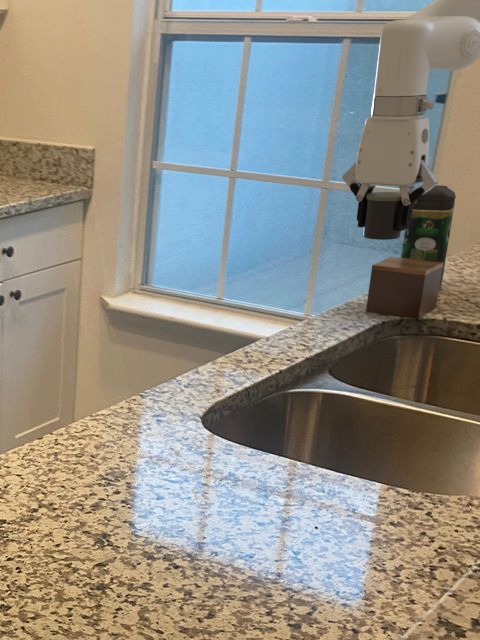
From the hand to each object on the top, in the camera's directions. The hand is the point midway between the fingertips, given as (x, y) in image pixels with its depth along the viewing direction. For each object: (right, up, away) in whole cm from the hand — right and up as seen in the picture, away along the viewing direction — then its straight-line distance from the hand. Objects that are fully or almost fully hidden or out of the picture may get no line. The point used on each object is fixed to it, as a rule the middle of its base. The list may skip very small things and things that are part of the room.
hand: (382, 226), depth 166 cm
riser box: (+9, -11, +14) cm, 20 cm away
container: (0, -1, +1) cm, 2 cm away
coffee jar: (+19, -4, +29) cm, 35 cm away
